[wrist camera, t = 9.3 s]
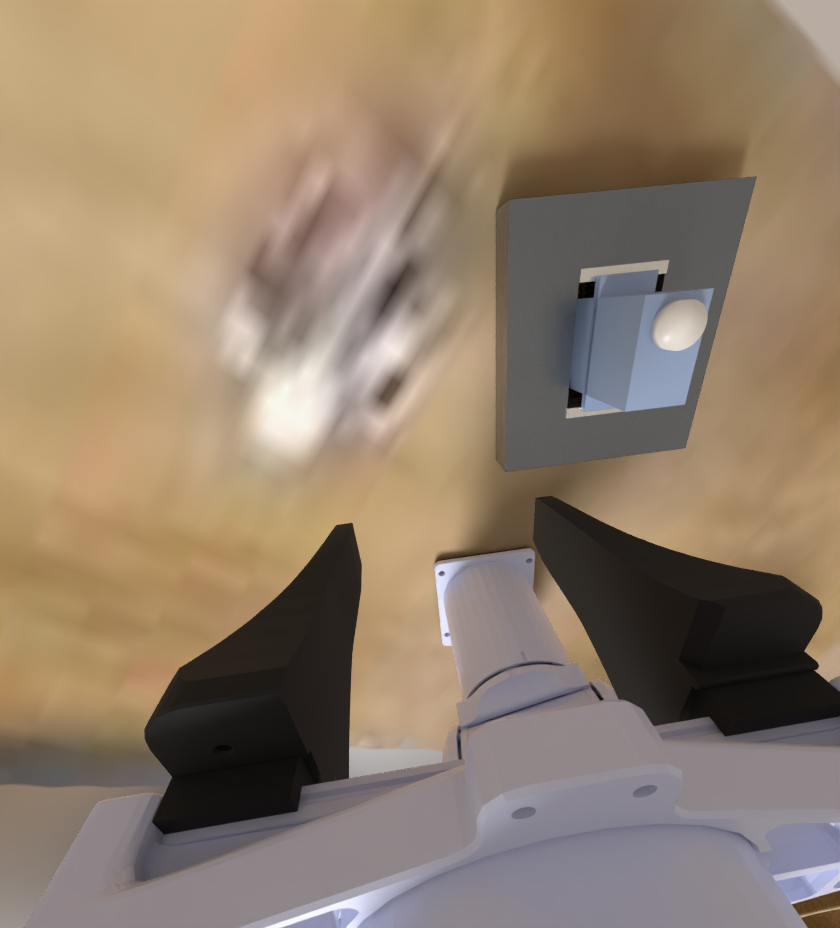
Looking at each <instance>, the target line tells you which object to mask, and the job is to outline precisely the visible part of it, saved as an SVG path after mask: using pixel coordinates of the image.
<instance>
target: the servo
mask: <svg viewBox="0 0 840 928" xmlns="http://www.w3.org/2000/svg"><path fill="white" fill-rule="evenodd" d="M658 272H659V269H658V270H648V271H639V272H629V273H619V274H609V275H600V276H596V282H595V291H594V297H589V298H579V299H577V308H576V318H575V329H574V340H573V350H572V361H571V372H570V382H569V388H570V389H573V390H575V391H577V392H580V393H582V403H581V411H583V412H590V411H599V410H607V409H615V408H617V409H620V410H622V411H624V412H628V411H636V410H644V409H652V408H661V407H669V406H677V405H685V402H686V398H687V394H688V390H689V386H690V382H691V378H692V374H693V370H694V366H695V362H696V358H697V354H698V350H699V346H700V342H701V338H702V334H703V332H704V330H705V327H706V324H707V319H708V310H709V306H710V302H711V298H712V294H713V290H714V288H708V289H693V290H677V291H661V292H655V288H656V283H657V277H658Z"/></svg>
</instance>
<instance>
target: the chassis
mask: <svg viewBox="0 0 840 928" xmlns="http://www.w3.org/2000/svg"><path fill="white" fill-rule="evenodd" d="M756 177H757V176H756ZM756 177H746V178H735V179H724V180H714V181H703V182H692V183H682V184H671V185H660V186H650V187H639V188H628V189H618V190H607V191H596V192H585V193H575V194H564V195H553V196H543V197H532V198H521V199H511V200H508V201H507V202H506V203H505V204H504V205H502V206H501V207H500V208H499V209H498V210H497V211H496V460H497V461H498V463H499V464H500V465H501V467H502V468H503V469H504V471H505V472H508V471H515V470H523V469H530V468H538V467H545V466H553V465H561V464H568V463H576V462H583V461H591V460H599V459H606V458H614V457H621V456H629V455H636V454H644V453H652V452H659V451H667V450H674V449H682V448H685V447H686V444H687V440H688V436H689V432H690V428H691V425H692V421H693V417H694V413H695V409H696V406H697V402H698V398H699V394H700V390H701V387H702V383H703V379H704V375H705V371H706V367H707V364H708V360H709V356H710V352H711V348H712V345H713V341H714V337H715V333H716V329H717V326H718V322H719V318H720V314H721V310H722V307H723V303H724V299H725V295H726V291H727V288H728V284H729V280H730V276H731V272H732V269H733V265H734V261H735V257H736V253H737V250H738V246H739V242H740V238H741V234H742V231H743V227H744V223H745V219H746V215H747V212H748V208H749V204H750V200H751V196H752V193H753V189H754V185H755V181H756ZM658 269H659V272H658V277H657V283H656V288H655V292H661V291H677V290H693V289H708V288H714V290H713V294H712V298H711V302H710V306H709V310H708V319H707V324H706V327H705V330H704V332H703V334H702V338H701V342H700V346H699V350H698V354H697V358H696V362H695V366H694V370H693V374H692V378H691V382H690V386H689V390H688V394H687V398H686V402H685V405H677V406H669V407H661V408H652V409H644V410H636V411H628V412H624V411H622V410H620V409H617V408H615V409H607V410H599V411H590V412H583V411H581V403H582V396H581V397H573V398H568V393H569V382H570V372H571V361H572V350H573V340H574V329H575V318H576V308H577V297H578V286H579V283H586V282H596V276H600V275H609V274H619V273H629V272H639V271H648V270H658Z"/></svg>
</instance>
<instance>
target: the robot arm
mask: <svg viewBox="0 0 840 928" xmlns="http://www.w3.org/2000/svg"><path fill="white" fill-rule="evenodd" d="M533 541H534V543H535V545H536V547H537V550H538V552H539V554H540V556H541V558H542V560H543V562H544V564H545V565H546V567H547V569H548V570H549V572H550V573H551V575H552V577H553V578H554V580H555V581H556V583H557V584H558V586H559V587H560V589H561V590H562V592H563V594H564V595H565V597H566V598H567V600H568V601H569V603H570V604H571V606H572V607H573V609H574V611H575V612H576V614H577V616H578V617H579V619H580V621H581V623H582V624H583V626H584V628H585V630H586V632H587V634H588V636H589V638H590V640H591V642H592V644H593V646H594V648H595V650H596V652H597V654H598V656H599V658H600V660H601V663H602V665H603V667H604V669H605V671H606V673H607V675H608V677H609V679H610V682H611V684H612V686H613V687H611V686H610V685H608V684H606V683H605V682H604V681H602V680H600V679H595V680H592V681H590V682H589V683H588V681H587V679H586V677H585V676H584V674H583V672H582V670H581V668H580V666H579V665H578V664H577V663H575V664H572V663H571V661H570V659H569V657H568V655H567V653H566V651H565V649H564V648H563V646H562V644H561V642H560V640H559V638H558V636H557V634H556V632H555V631H554V629H553V627H552V625H551V623H550V621H549V619H548V617H547V615H546V614H545V612H544V610H543V608H542V606H541V604H540V602H539V600H538V598H537V597H536V595H535V593H534V591H533V582H534V566H535V552H534V551H533V549H531V548H526V549H519V550H512V551H505V552H498V553H491V554H484V555H477V556H470V557H463V558H456V559H449V560H442V561H438V562H436V563H435V565H434V568H435V578H436V588H437V598H438V608H439V618H440V627H441V637H442V643H443V645H445V646H450V645H452V648H453V653H454V658H455V663H456V668H457V673H458V678H459V683H460V688H461V693H462V698H463V701H462V702H460V703H457V705H456V706H457V712H458V717H459V723H460V725H458V726H455V727H452V728H451V729H450V730H449V732H448V736H447V740H446V743H445V745H444V749H443V762H442V763H436V764H431V765H425V766H419V767H414V768H407V769H401V770H396V771H390V772H384V773H378V774H372V775H366V776H360V777H355V778H349V725H350V690H351V667H352V651H353V642H354V635H355V628H356V622H357V615H358V608H359V601H360V593H361V570H362V564H361V560H360V555H359V551H358V546H357V542H356V537H355V533H354V528H353V524H352V523H348V524H341V525H336V526H335V528H334V529H333V530H332V532H331V533H330V534H329V536H328V537H327V539H326V540H325V542H324V543H323V544H322V546H321V547H320V548H319V550H318V551H317V552H316V554H315V555H314V556H313V558H312V559H311V560H310V561H309V563H308V564H307V565H306V566H305V568H304V569H303V570H302V571H301V572H300V573H299V575H298V576H297V577H296V578H295V579H294V580H293V581H292V582H291V584H290V585H289V586H288V587H287V588H286V589H285V590H284V591H283V592H282V593H281V594H279V595H278V596H277V597H276V598H275V599H274V600H273V601H272V602H271V603H270V604H269V605H267V606H266V607H265V608H264V609H263V610H262V611H260V612H259V613H258V614H257V615H256V616H254V617H253V618H252V619H251V620H250V621H248V622H247V623H246V624H245V625H243V626H242V627H241V628H239V629H238V630H237V631H235V632H234V633H232V634H231V635H230V636H228V637H227V638H226V639H224V640H223V641H221V642H220V643H218V644H217V645H215V646H214V647H212V648H211V649H209V650H208V651H206V652H204V653H203V654H201V655H200V656H198V657H197V658H195V659H193V660H192V661H190V662H189V663H187V664H186V665H184V666H182V667H181V668H179V670H178V671H177V673H176V674H175V676H174V678H173V679H172V681H171V682H170V684H169V686H168V688H167V689H166V691H165V693H164V695H163V696H162V698H161V700H160V702H159V704H158V705H157V707H156V709H155V711H154V712H153V714H152V716H151V718H150V719H149V721H148V723H147V725H146V727H145V729H144V732H145V741H146V743H147V745H148V747H149V748H150V750H151V752H152V753H153V754H154V755H155V756H156V758H157V759H158V760H159V761H160V762H161V764H162V765H163V766H164V767H165V769H166V770H167V771H168V772H169V773H170V775H171V776H172V779H171V781H170V783H169V786H168V788H167V790H166V792H165V795H164V796H163V795H162V794H158V793H142V794H136V795H129V796H124V797H117V798H111V799H106V800H102V801H100V802H98V803H97V804H96V805H95V806H94V808H93V810H92V811H91V813H90V815H89V817H88V818H87V820H86V822H85V823H84V825H83V827H82V829H81V830H80V832H79V834H78V835H77V837H76V839H75V841H74V842H73V844H72V846H71V847H70V849H69V851H68V853H67V854H66V856H65V858H64V859H63V861H62V863H61V865H60V867H59V868H58V870H57V872H56V873H55V875H54V877H53V879H52V880H51V882H50V883H49V885H48V887H47V889H46V890H45V892H44V894H43V895H42V897H41V899H40V901H39V902H38V904H37V906H36V907H35V909H34V911H33V913H32V914H31V916H30V918H29V919H28V921H27V923H26V925H25V926H24V928H808V927H807V926H806V925H805V923H804V922H803V920H802V919H801V917H800V916H799V914H798V913H797V911H796V910H795V908H794V907H793V906H792V904H794V903H798V902H801V901H805V900H808V899H812V898H815V897H818V896H822V895H825V894H829V893H832V892H836V891H839V890H840V676H839V677H836V678H834V679H833V680H831V681H830V682H827V681H826V680H825V679H824V678H823V677H821V676H820V675H819V674H818V673H817V672H816V671H814V670H817V669H818V667H819V665H818V663H817V662H816V661H815V660H814V659H813V658H812V657H810V656H809V655H808V654H807V653H805V652H804V650H805V649H806V647H807V645H808V644H809V642H810V640H811V639H812V637H813V635H814V634H815V632H816V630H817V629H818V627H819V624H820V622H821V620H822V606H821V604H820V602H819V600H817V599H816V598H814V597H813V596H812V595H810V594H809V593H807V592H806V591H804V590H803V589H801V588H800V587H798V586H797V585H796V584H794V583H793V582H791V581H790V580H788V579H787V578H785V577H784V576H780V575H775V574H770V573H764V572H759V571H754V570H748V569H743V568H738V567H733V566H729V565H725V564H721V563H716V562H712V561H708V560H704V559H701V558H697V557H693V556H690V555H686V554H683V553H680V552H677V551H673V550H670V549H667V548H664V547H661V546H658V545H655V544H653V543H650V542H647V541H645V540H642V539H639V538H637V537H634V536H632V535H630V534H627V533H625V532H623V531H620V530H618V529H616V528H614V527H612V526H609V525H607V524H605V523H603V522H601V521H599V520H597V519H595V518H593V517H591V516H589V515H587V514H585V513H584V512H582V511H580V510H578V509H576V508H574V507H572V506H570V505H568V504H566V503H565V502H563V501H561V500H559V499H557V498H554V497H552V496H547V497H539V498H536V501H535V518H534V535H533ZM529 558H530V559H529ZM527 559H529V560H527ZM440 571H443V572H442V573H439V572H440Z"/></svg>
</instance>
